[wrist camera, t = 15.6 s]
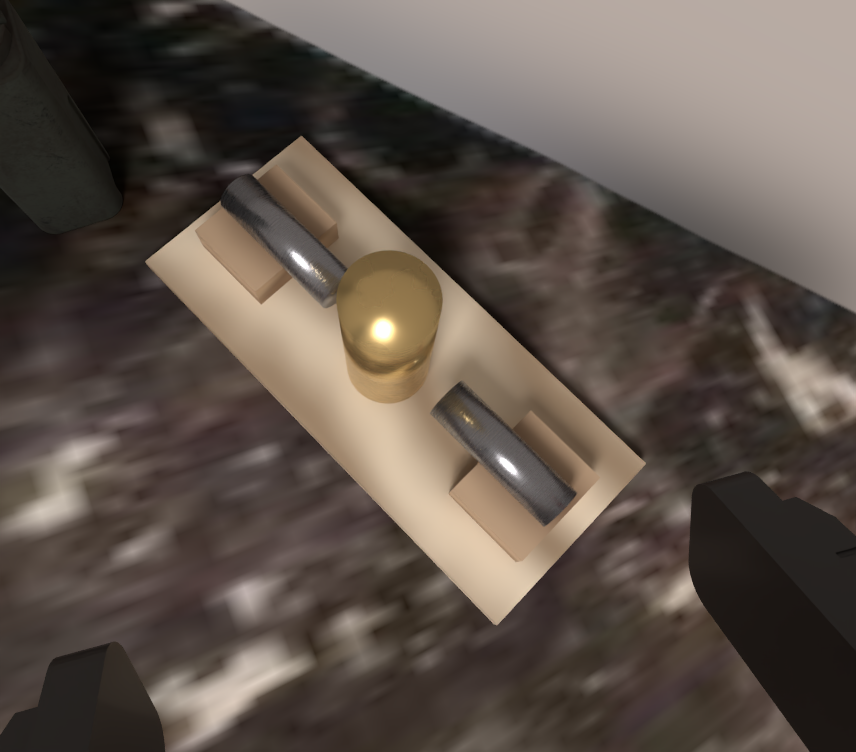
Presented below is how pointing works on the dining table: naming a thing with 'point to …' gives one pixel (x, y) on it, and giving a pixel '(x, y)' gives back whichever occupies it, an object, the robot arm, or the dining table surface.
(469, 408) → the shafts
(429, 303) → the cylinder
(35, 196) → the black and grey bottle
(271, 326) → the shaft bench
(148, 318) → the dining table surface
